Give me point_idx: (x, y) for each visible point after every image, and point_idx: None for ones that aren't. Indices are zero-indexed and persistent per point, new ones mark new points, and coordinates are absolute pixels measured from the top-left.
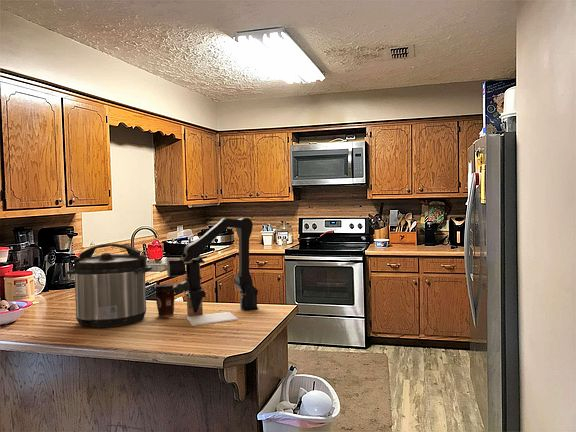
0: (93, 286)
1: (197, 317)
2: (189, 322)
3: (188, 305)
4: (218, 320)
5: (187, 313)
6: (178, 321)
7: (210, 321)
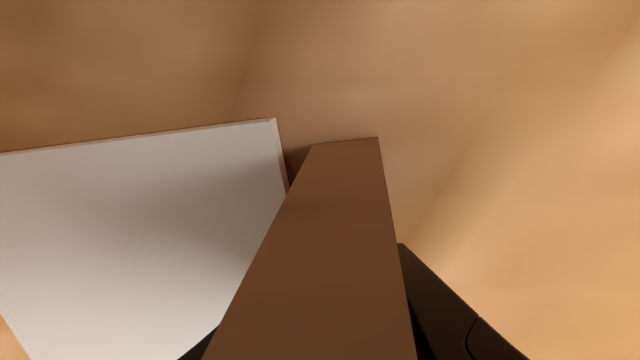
0: None
1: (198, 244)
2: (51, 146)
3: (275, 241)
4: None
5: (375, 150)
6: (128, 5)
7: (23, 321)
